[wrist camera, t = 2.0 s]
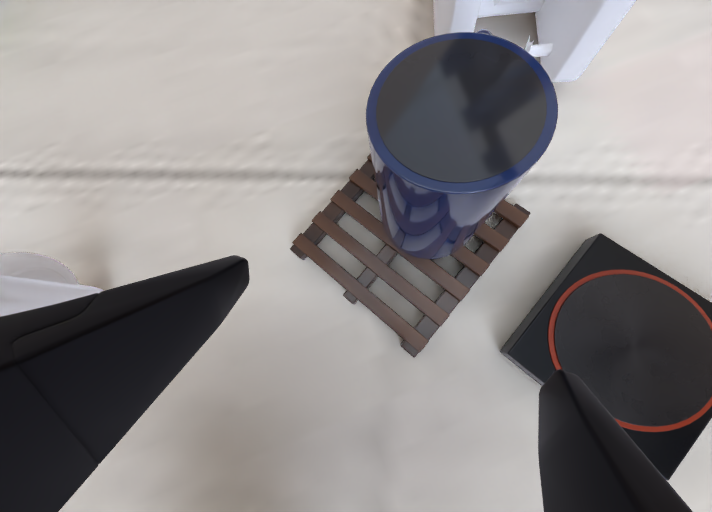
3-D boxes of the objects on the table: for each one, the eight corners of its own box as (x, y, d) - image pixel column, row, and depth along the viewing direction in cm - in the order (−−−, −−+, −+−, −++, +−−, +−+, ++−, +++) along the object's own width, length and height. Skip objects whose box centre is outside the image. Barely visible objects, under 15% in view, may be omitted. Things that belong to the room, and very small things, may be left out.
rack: (413, 356, 21) (414, 358, 20) (292, 251, 24) (287, 247, 23) (526, 216, 22) (533, 210, 21) (397, 131, 25) (397, 122, 24)
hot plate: (645, 468, 18) (682, 490, 15) (498, 351, 20) (511, 355, 18) (737, 336, 18) (785, 338, 16) (585, 239, 21) (609, 228, 19)
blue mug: (462, 271, 20) (533, 216, 10) (368, 242, 22) (340, 165, 11) (498, 150, 22) (594, -13, 11) (408, 130, 23) (417, -34, 13)
